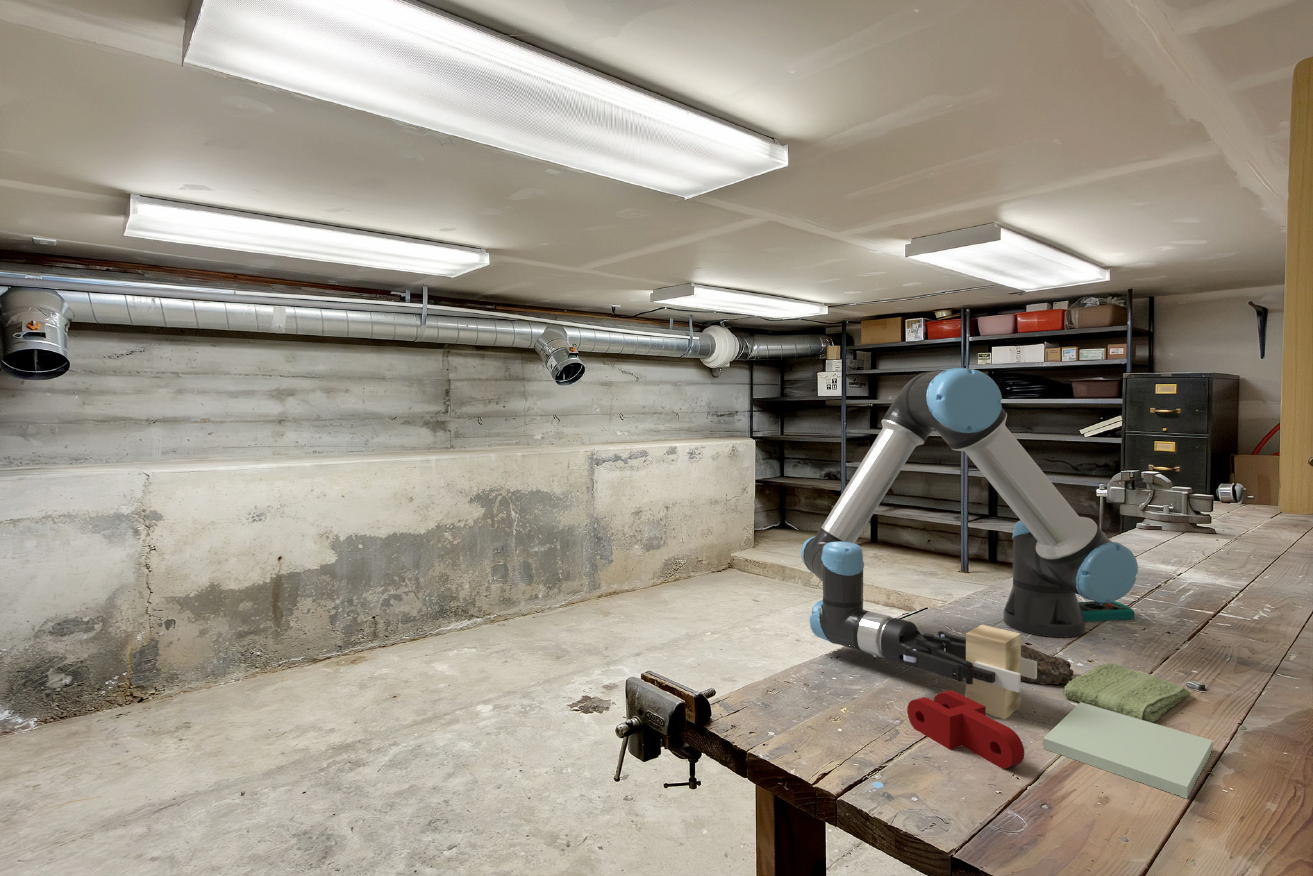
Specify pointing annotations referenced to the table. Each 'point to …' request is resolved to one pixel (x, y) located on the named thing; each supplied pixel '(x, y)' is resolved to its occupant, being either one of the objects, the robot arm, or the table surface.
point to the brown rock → (1047, 667)
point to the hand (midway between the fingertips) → (1027, 676)
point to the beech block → (998, 652)
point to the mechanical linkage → (965, 728)
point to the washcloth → (1125, 692)
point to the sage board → (1131, 748)
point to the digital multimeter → (1105, 611)
